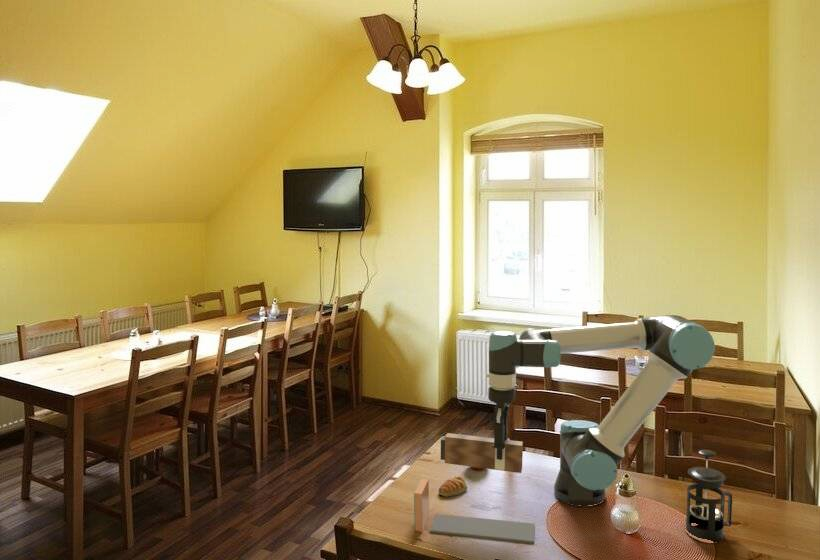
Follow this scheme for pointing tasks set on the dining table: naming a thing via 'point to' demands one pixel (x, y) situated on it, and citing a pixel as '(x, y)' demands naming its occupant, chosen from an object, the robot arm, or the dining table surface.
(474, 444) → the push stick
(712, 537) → the french press
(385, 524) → the dining table surface
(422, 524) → the tile
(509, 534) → the mat
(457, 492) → the pastry
